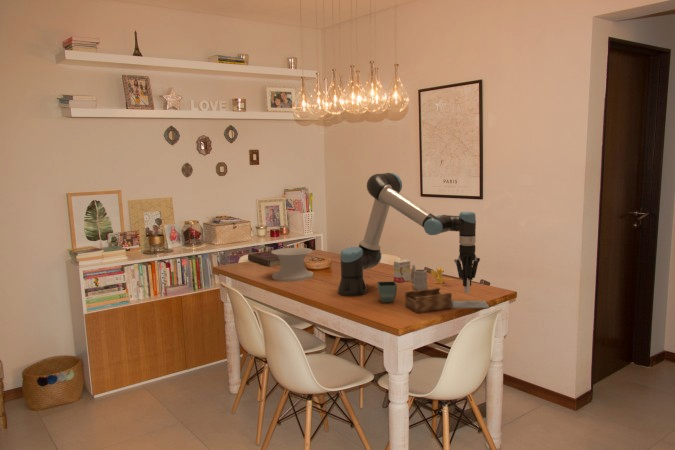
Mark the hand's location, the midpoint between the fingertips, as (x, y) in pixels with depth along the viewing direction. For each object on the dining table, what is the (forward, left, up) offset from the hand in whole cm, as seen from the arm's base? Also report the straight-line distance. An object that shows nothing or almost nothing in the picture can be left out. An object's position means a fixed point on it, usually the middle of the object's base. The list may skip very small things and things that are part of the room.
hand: (466, 292), depth 260 cm
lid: (-2, -4, -6) cm, 7 cm away
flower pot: (-34, +18, -5) cm, 39 cm away
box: (-21, 0, -5) cm, 21 cm away
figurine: (+10, +40, -5) cm, 41 cm away
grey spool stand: (-64, +92, -5) cm, 112 cm away
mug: (-8, +36, -5) cm, 37 cm away
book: (-66, +145, -6) cm, 159 cm away
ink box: (-9, +54, -5) cm, 55 cm away
